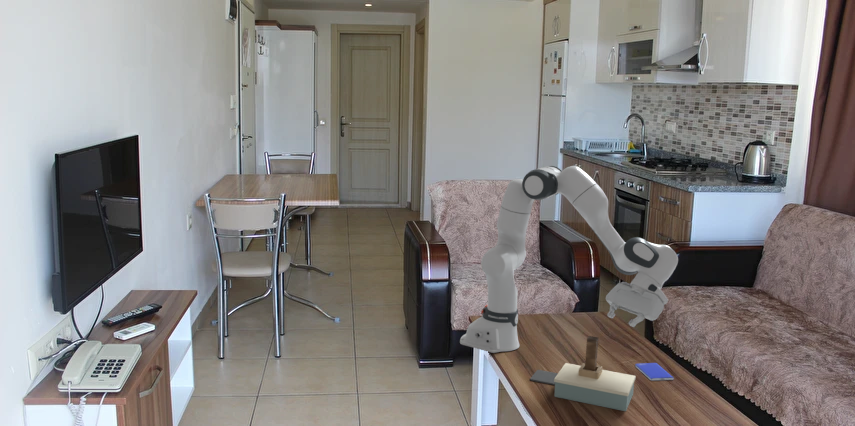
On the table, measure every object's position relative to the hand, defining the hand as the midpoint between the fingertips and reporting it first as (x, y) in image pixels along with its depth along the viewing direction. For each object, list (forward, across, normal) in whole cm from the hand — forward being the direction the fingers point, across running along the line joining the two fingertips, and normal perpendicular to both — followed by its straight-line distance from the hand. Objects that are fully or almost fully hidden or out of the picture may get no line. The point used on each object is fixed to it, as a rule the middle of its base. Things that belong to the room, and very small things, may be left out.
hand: (620, 321), depth 224 cm
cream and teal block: (+24, +3, +7) cm, 25 cm away
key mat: (+28, -14, +4) cm, 31 cm away
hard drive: (+2, -1, +30) cm, 30 cm away
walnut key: (+19, 0, +3) cm, 20 cm away
